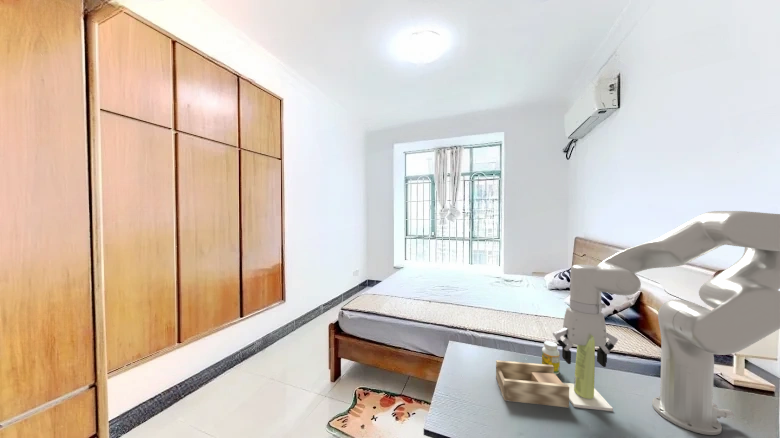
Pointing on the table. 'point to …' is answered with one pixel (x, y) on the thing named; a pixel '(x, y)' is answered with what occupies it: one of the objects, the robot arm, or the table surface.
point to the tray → (529, 384)
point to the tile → (588, 400)
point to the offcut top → (545, 378)
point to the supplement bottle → (551, 356)
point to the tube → (585, 370)
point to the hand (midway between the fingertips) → (584, 362)
